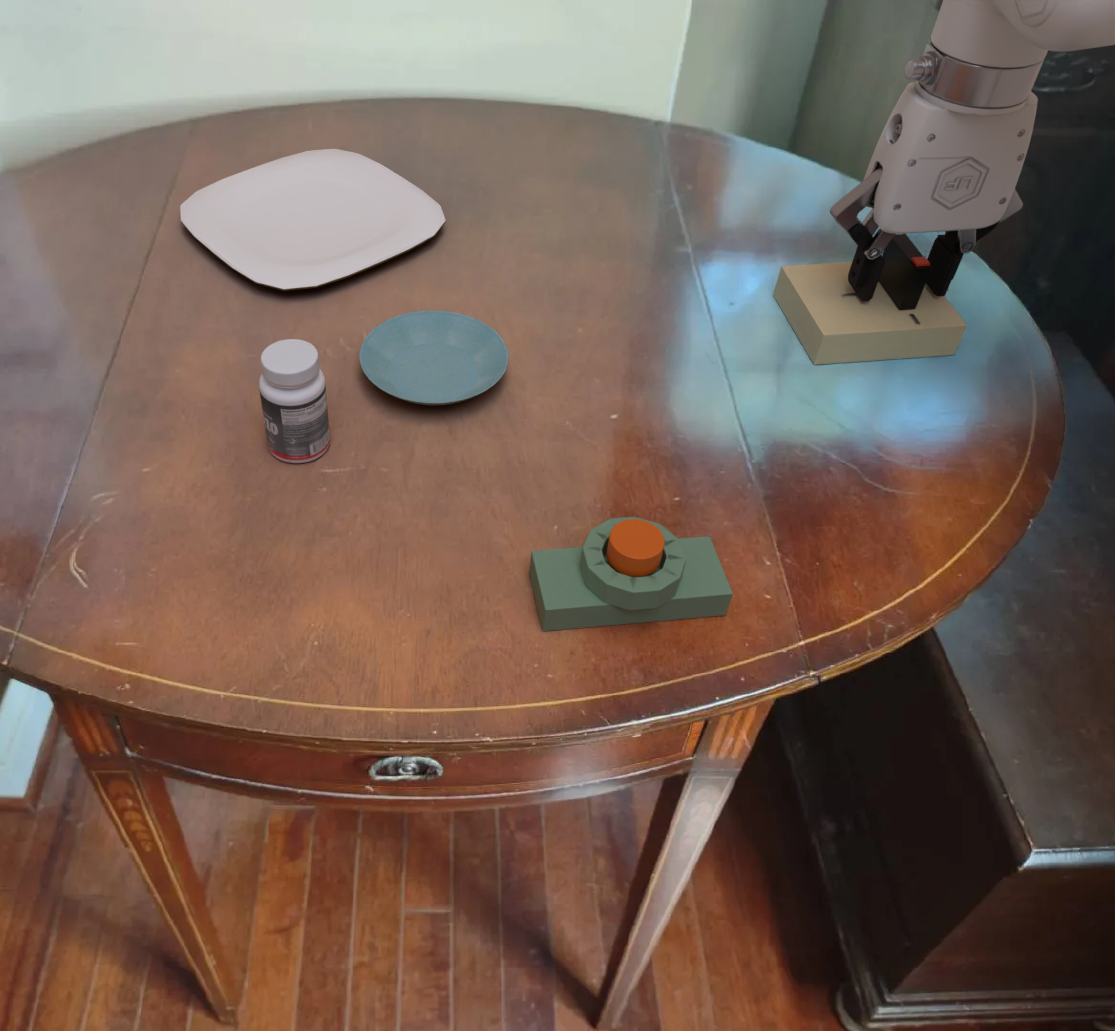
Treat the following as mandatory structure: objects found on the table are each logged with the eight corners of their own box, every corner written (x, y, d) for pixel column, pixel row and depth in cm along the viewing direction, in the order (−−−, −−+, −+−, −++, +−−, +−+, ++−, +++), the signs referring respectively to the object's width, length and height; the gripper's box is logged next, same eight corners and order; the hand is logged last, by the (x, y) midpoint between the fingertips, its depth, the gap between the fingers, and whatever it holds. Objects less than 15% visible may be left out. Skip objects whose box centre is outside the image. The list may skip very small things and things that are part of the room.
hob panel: (910, 286, 93) (922, 255, 91) (961, 354, 86) (975, 323, 84) (772, 295, 92) (781, 264, 90) (813, 365, 86) (824, 333, 83)
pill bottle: (263, 429, 80) (250, 340, 74) (324, 418, 81) (316, 330, 75) (272, 470, 77) (259, 381, 71) (336, 459, 78) (328, 370, 72)
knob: (874, 276, 89) (890, 232, 86) (890, 275, 89) (906, 230, 86) (899, 310, 86) (916, 265, 83) (915, 309, 86) (933, 264, 83)
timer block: (701, 550, 71) (712, 509, 69) (729, 623, 67) (742, 582, 64) (527, 565, 71) (531, 524, 68) (544, 639, 66) (549, 599, 63)
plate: (157, 217, 102) (153, 201, 101) (339, 150, 111) (338, 135, 110) (279, 320, 90) (277, 303, 89) (472, 235, 99) (472, 219, 98)
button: (652, 535, 68) (657, 516, 66) (666, 575, 65) (671, 556, 64) (601, 539, 67) (604, 520, 66) (613, 579, 65) (616, 561, 64)
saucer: (533, 363, 86) (535, 340, 84) (455, 444, 79) (455, 421, 77) (415, 316, 90) (414, 294, 89) (331, 388, 84) (329, 366, 82)
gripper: (881, 102, 71) (811, 323, 84) (1122, 90, 72) (1016, 309, 85) (840, 56, 76) (780, 271, 89) (1064, 45, 77) (973, 258, 90)
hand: (896, 287), depth 87 cm, fingers open, 5 cm apart
